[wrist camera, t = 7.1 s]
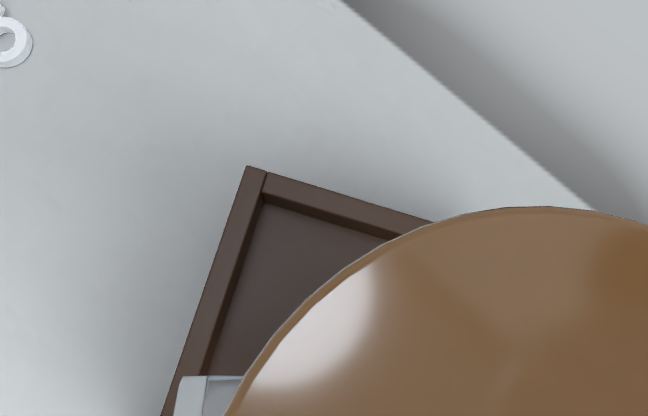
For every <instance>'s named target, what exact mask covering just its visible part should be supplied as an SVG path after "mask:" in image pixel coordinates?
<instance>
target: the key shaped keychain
mask: <svg viewBox="0 0 648 416" xmlns="http://www.w3.org/2000/svg"><path fill="white" fill-rule="evenodd" d="M4 11H5V8H4V7H3V6H2V5H1V4H0V35H1V34H4V33H14V34H15V37H16V40H15V43H14V45H13V46H12V48H10V49H9V50H7V51H4V52H0V67H13V66H16V65H18V64H20V63H22V62H23V61H24V60H25V59H26V58H27V57H28V56H29V54H30V52H31V50H32V44H33V43H32V37H31V35H30V33H29V32H28V30H27V29H26V28H25V27H24V26H23V25H22V24H21V23H20V22H19V21H17V20H15V19H13V18H10V17H3V14H4Z"/></svg>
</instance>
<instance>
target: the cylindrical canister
mask: <svg viewBox="0 0 648 416" xmlns="http://www.w3.org/2000/svg"><path fill="white" fill-rule="evenodd" d="M222 416H648V225H646V224H643V223H640V222H638V221H635V220H630V219H626V218H622V217H617V216H613V215H609V214H605V213H601V212H596V211H592V210H582V209H573V208H563V207H553V206H533V207H504V208H498V209H491V210H485V211H479V212H473V213H466V214H461V215H458V216H455V217H451V218H448V219H445V220H441V221H438V222H435V223H431V224H428V225H425V226H421V227H419V228H417V229H414V230H412V231H410V232H408V233H406V234H403V235H401V236H399V237H397V238H395V239H392V240H390V241H388V242H386V243H384V244H381V245H379V246H378V247H376V248H375V249H373V250H371V251H370V252H368V253H367V254H365V255H364V256H362V257H360V258H359V259H357V260H356V261H354V262H352V263H351V264H349V265H348V266H346V267H344V268H343V269H341V270H340V271H339V272H338V273H336V274H335V275H334V276H333V277H332V278H330V279H329V280H328V281H327V282H326V283H324V284H323V285H322V286H321V287H320V288H318V289H317V290H316V291H315V292H314V293H312V294H311V295H310V296H309V297H308V298H306V299H305V300H304V301H303V303H302V304H301V305H300V306H299V307H298V308H297V309H296V310H295V311H294V312H293V313H292V314H291V315H290V317H289V318H288V319H287V320H286V321H285V322H284V323H283V324H282V325H281V326H280V327H279V328H278V329H277V331H276V332H275V333H274V334H273V335H272V337H271V338H270V339H269V341H268V342H267V344H266V345H265V346H264V348H263V349H262V351H261V352H260V353H259V355H258V356H257V358H256V359H255V360H254V362H253V363H252V365H251V366H250V367H249V369H248V370H247V372H246V373H245V375H244V376H243V378H242V380H241V382H240V384H239V386H238V388H237V389H236V391H235V393H234V395H233V397H232V399H231V401H230V402H229V404H228V406H227V408H226V410H225V412H224V413H223V415H222Z"/></svg>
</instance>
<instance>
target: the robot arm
mask: <svg viewBox="0 0 648 416" xmlns="http://www.w3.org/2000/svg"><path fill="white" fill-rule="evenodd" d="M243 376H244V375H210V376H184V377H182V380H181V382H180V384H179V388H178V393H177V398H176V404H175V409H174V414H173V416H222V415H223V413H224V412H225V410H226V408H227V406H228V404H229V402H230V401H231V399H232V397H233V395H234V393H235V391H236V389H237V388H238V386H239V384H240V382H241V380H242V378H243Z"/></svg>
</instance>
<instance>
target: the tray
mask: <svg viewBox="0 0 648 416" xmlns="http://www.w3.org/2000/svg"><path fill="white" fill-rule="evenodd" d="M431 223H434V222H431V221H428V220H424V219H421V218H418V217H415V216H411V215H408V214H405V213H402V212H398V211H395V210H392V209H389V208H385V207H382V206H379V205H376V204H372V203H369V202H366V201H362V200H359V199H356V198H353V197H349V196H346V195H343V194H340V193H336V192H333V191H330V190H327V189H323V188H320V187H317V186H314V185H310V184H307V183H304V182H300V181H297V180H294V179H291V178H287V177H284V176H281V175H278V174H274V173H271V172H268V173H267V172H266V171H265V170H261V169H258V168H255V167H252V166H246V167H245V170H244V173H243V176H242V179H241V182H240V185H239V188H238V191H237V194H236V197H235V200H234V202H233V205H232V208H231V211H230V214H229V217H228V220H227V223H226V226H225V229H224V232H223V235H222V237H221V240H220V243H219V246H218V249H217V252H216V255H215V258H214V261H213V264H212V267H211V270H210V272H209V275H208V278H207V281H206V284H205V287H204V290H203V293H202V296H201V299H200V302H199V304H198V307H197V310H196V313H195V316H194V319H193V322H192V325H191V328H190V331H189V334H188V337H187V339H186V342H185V345H184V348H183V351H182V354H181V357H180V360H179V363H178V366H177V369H176V372H175V374H174V377H173V380H172V383H171V386H170V389H169V392H168V395H167V398H166V401H165V404H164V407H163V409H162V412H161V415H160V416H173V414H174V409H175V404H176V398H177V393H178V388H179V384H180V382H181V380H182V377H184V376H210V375H245V373H246V372H247V370H248V369H249V367H250V366H251V365H252V363H253V362H254V360H255V359H256V358H257V356H258V355H259V353H260V352H261V351H262V349H263V348H264V346H265V345H266V344H267V342H268V341H269V339H270V338H271V337H272V335H273V334H274V333H275V332H276V331H277V329H278V328H279V327H280V326H281V325H282V324H283V323H284V322H285V321H286V320H287V319H288V318H289V317H290V315H291V314H292V313H293V312H294V311H295V310H296V309H297V308H298V307H299V306H300V305H301V304H302V303H303V301H304V300H305V299H306V298H308V297H309V296H310V295H311V294H312V293H314V292H315V291H316V290H317V289H318V288H320V287H321V286H322V285H323V284H324V283H326V282H327V281H328V280H329V279H330V278H332V277H333V276H334V275H335V274H336V273H338V272H339V271H340V270H341V269H343V268H344V267H346V266H348V265H349V264H351V263H352V262H354V261H356V260H357V259H359V258H360V257H362V256H364V255H365V254H367V253H368V252H370V251H371V250H373V249H375V248H376V247H378V246H379V245H381V244H384V243H386V242H388V241H390V240H392V239H395V238H397V237H399V236H401V235H403V234H406V233H408V232H410V231H412V230H414V229H417V228H419V227H421V226H425V225H428V224H431Z"/></svg>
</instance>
